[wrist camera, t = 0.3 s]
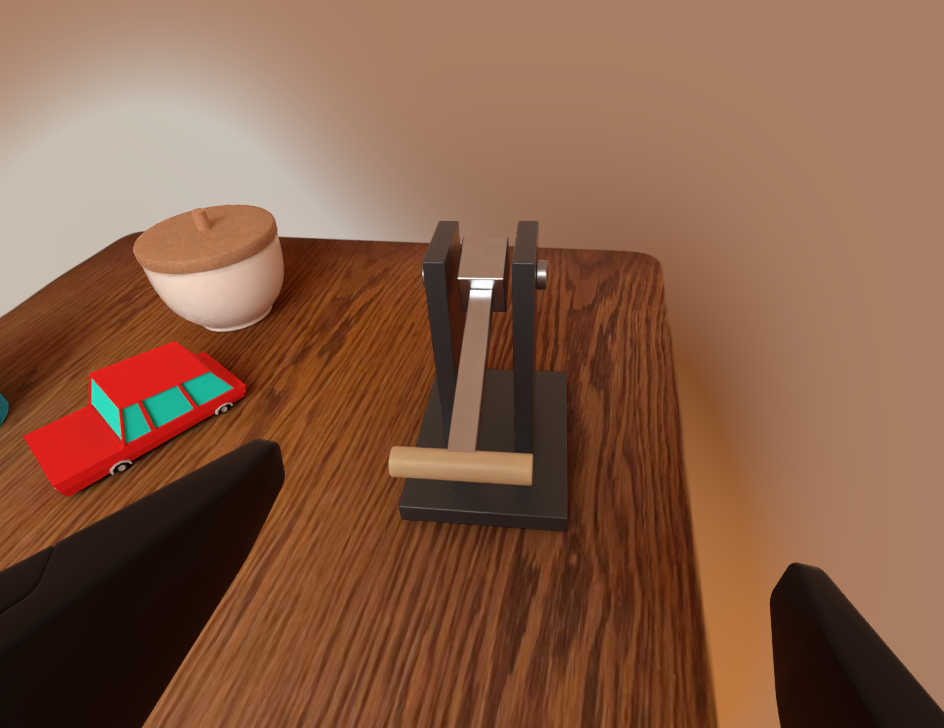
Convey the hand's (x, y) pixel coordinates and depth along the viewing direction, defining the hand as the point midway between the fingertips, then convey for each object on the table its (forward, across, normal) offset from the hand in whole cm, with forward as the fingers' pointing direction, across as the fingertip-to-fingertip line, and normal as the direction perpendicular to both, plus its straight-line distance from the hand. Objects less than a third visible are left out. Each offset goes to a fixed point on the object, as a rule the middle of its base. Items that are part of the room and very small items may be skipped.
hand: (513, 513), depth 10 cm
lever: (+14, +3, +7) cm, 16 cm away
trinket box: (+30, +28, +18) cm, 45 cm away
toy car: (+16, +26, +19) cm, 36 cm away
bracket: (+19, +3, +16) cm, 25 cm away
